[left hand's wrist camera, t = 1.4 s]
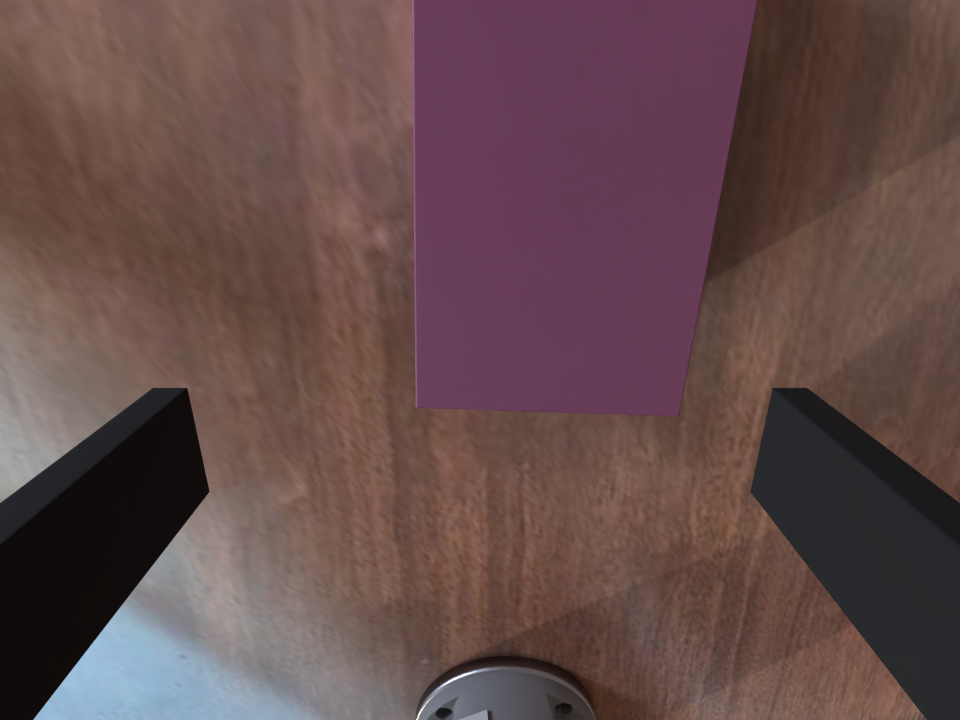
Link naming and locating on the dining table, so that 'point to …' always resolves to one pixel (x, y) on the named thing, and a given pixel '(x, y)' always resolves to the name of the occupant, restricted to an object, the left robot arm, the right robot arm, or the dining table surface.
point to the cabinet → (567, 196)
